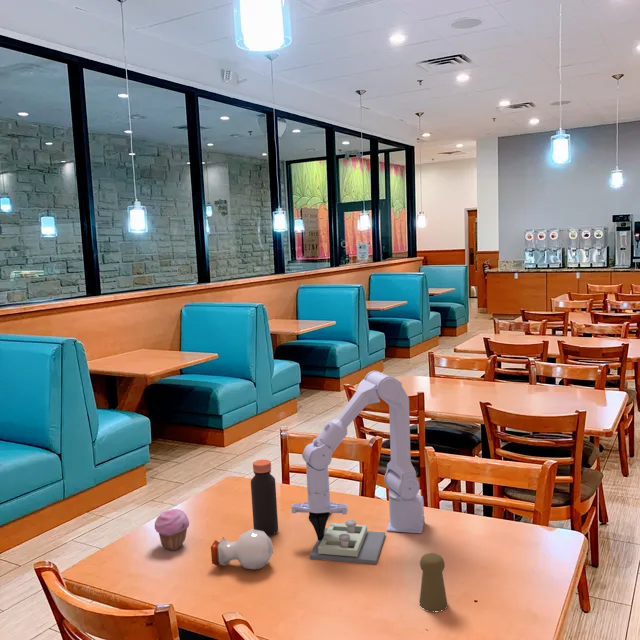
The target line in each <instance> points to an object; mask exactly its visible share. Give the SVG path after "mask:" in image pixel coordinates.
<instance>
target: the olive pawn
mask: <svg viewBox="0 0 640 640" xmlns="http://www.w3.org/2000/svg"><path fill="white" fill-rule="evenodd" d="M419 567H420V569H421V571H422V575H421V582H420V583H421V584H420V593H419V603H420V604H419V607H420V606H421V607H422V608H424V609H425V610H428V611H434V612H433V613H436V612H435V611H441V610H444V609H445V608H446V607H447V608H448V606H447V604H448V600H447V594H446V587H445V582H444V574H443V572H444V570H445V560H444V558H443V556H441V555H440V554H437V553H435V552H429V553H425V554H423V555H422V556H421V558H420V561H419ZM421 607H420V608H421ZM422 608H421V609H422ZM447 608H446V609H447ZM424 609H423V610H424ZM446 609H445V610H446ZM425 610H424V611H425ZM445 610H444V611H445ZM428 611H427V612H428Z"/></svg>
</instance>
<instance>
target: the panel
mask: <svg viewBox="0 0 640 640" xmlns="http://www.w3.org/2000/svg"><path fill="white" fill-rule="evenodd" d="M354 528H355V532H360V534H358V533H348V526H346V523H339V522H331V523H330V524H329V526H328V530H327V531H326V533H325V535H324V537H323V539H322V541H321V543H320V545H319V547H318V554H329V555H342V556H354V557H357V556H358V554H359V551H360V548H361V546H362V543H363V541H364V538H365V536H366V533H367V531H368V525H367V524H356V526H354ZM341 534H349V535H350V539H349V540H348V546H354V548H342V547H341V540H339V535H341Z"/></svg>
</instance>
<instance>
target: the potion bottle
mask: <svg viewBox="0 0 640 640" xmlns="http://www.w3.org/2000/svg"><path fill="white" fill-rule="evenodd" d="M210 552H211V553H210V554H211V564H212V565H214V566H217V567H218V566H219V565H222V566H224V567H226V566H228V564H229V563H230V562H231V561H238V563H239V564H240V565H241V566H242V568H243V569H247V570H253V571H257V570H259V569H263V568H264V567H265V566H266V565H268V563H269V562H270V560H271V558H272V556H273V553H274V546H273V540H272V539H271V537H270V536H268V535H267V534H266V533H265V532H264V531H261V530H255V529H254V528H251V529H248V530H247V531H245V532H243V533H241V534H240V536H239V538H238V540H236V541H229V540H227V539H226V538H225V537H222V538H221V540H220V542H219V541H218V540H217V539H215V540H214V541H213V543H212V545H211V546H210Z"/></svg>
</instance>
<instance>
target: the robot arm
mask: <svg viewBox="0 0 640 640" xmlns="http://www.w3.org/2000/svg"><path fill="white" fill-rule="evenodd" d="M380 399H381V400H383V402H385V403H386V404H388V409H389V410H388V411H389V413H388V415H389V416H388V417H389V437H390V438H389V444H390V460H389V462H387V464H386V472H385V474H384V477H383V478H384V480H383V481H384V484H385V486H386V487H387V488H388V507H389V509H388V510H389V522H388V524H387V527H386V531H387V532H397V533H398V532H399V533H408V534H409V533H411V534H422V533H423V529H424V524H425V508H424V506H425V504H424V502H425V501H424V496H423V495H418V493H419V492H420V482H419V480H418V478H417V472H416V470H415V467H414V466H413V464H412V462H411V427H410V426H411V424H410V421H411V420H410V397H409V396H408V393H406V390H405V389H404V387H403V383H402V381H400V380H398V378H396V377H394V376H391V375H390V376H389V375H388V374H385V373H382V372H381V371H378V370H372V371H369V372H368V373H367V374H366V375H365V376H364V379H362V380H361V381H360V382H359V384H358V387H357V389H356V391H355V392H354V394H353V395H352V396H351V397H350V400H349V401H348V403H347V404H346V405H345V407H344V408H343V410H342V411H341V413H340V414H339V416H337V418H335V419H331V420H329V421H328V422H325V423H324V425H323V429H321V432H320V433H318V435H317V436H316V438H313V440H312V442H311V443H308V444H307V445H306V446H305V447H304V450H303V452H302V453H301V456H302V457H301V458H302V459H303V461H304V462H305V463H306V464H305V465H306V466H305V468H306V473H305V474H306V488H307V501H306V502H299V503H298V502H297V503H295V502H294V503H292V505H291V514H297V513H308V521H309V522H310V523H311V525H312V527H313V529H314V531H315V534H316V537H317V540H319V541H322V539H323V537H324V532H325V528H326V526H327V522H328V520H329V517H330V514H342V515H344V516H345V515H346V516H347V514H348V504H346V503H345V504H344V503H338V502H332V501H331V497H330V481H329V479H330V477H329V476H330V475H329V465H330V464H331V463H332V459H333V458H332V456H333V454H334V453H335V451H336V449H337V448H338V447H339V446H340V444H341V443H342V442H343V440H344V439H345V438H346V436H348V427H349V426H350V425H351V424H352V423H353V421H354V420H355V419H356V418H357V416H359V414H360V413H361V412H362V411H363V410H364V409H365V408H366V406H367V405H372V404H373V405H374V404H378V403H381V400H380Z"/></svg>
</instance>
